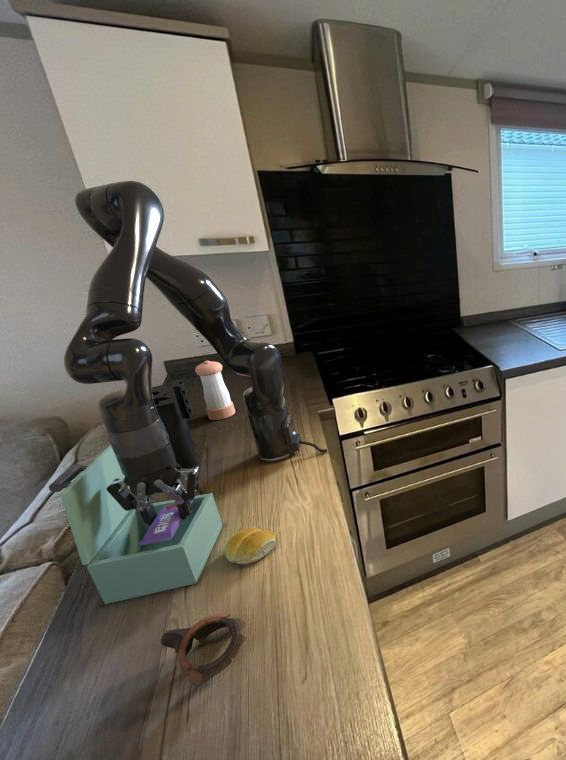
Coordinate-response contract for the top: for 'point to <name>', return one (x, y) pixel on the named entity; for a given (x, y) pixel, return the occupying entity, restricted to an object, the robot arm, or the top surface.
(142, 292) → the robot arm
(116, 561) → the box
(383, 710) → the top surface
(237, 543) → the bread roll
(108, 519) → the cold box lid
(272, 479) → the top surface
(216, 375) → the pepper shaker
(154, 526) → the snack package
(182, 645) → the brown ring with stub
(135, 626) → the top surface
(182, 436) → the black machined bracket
